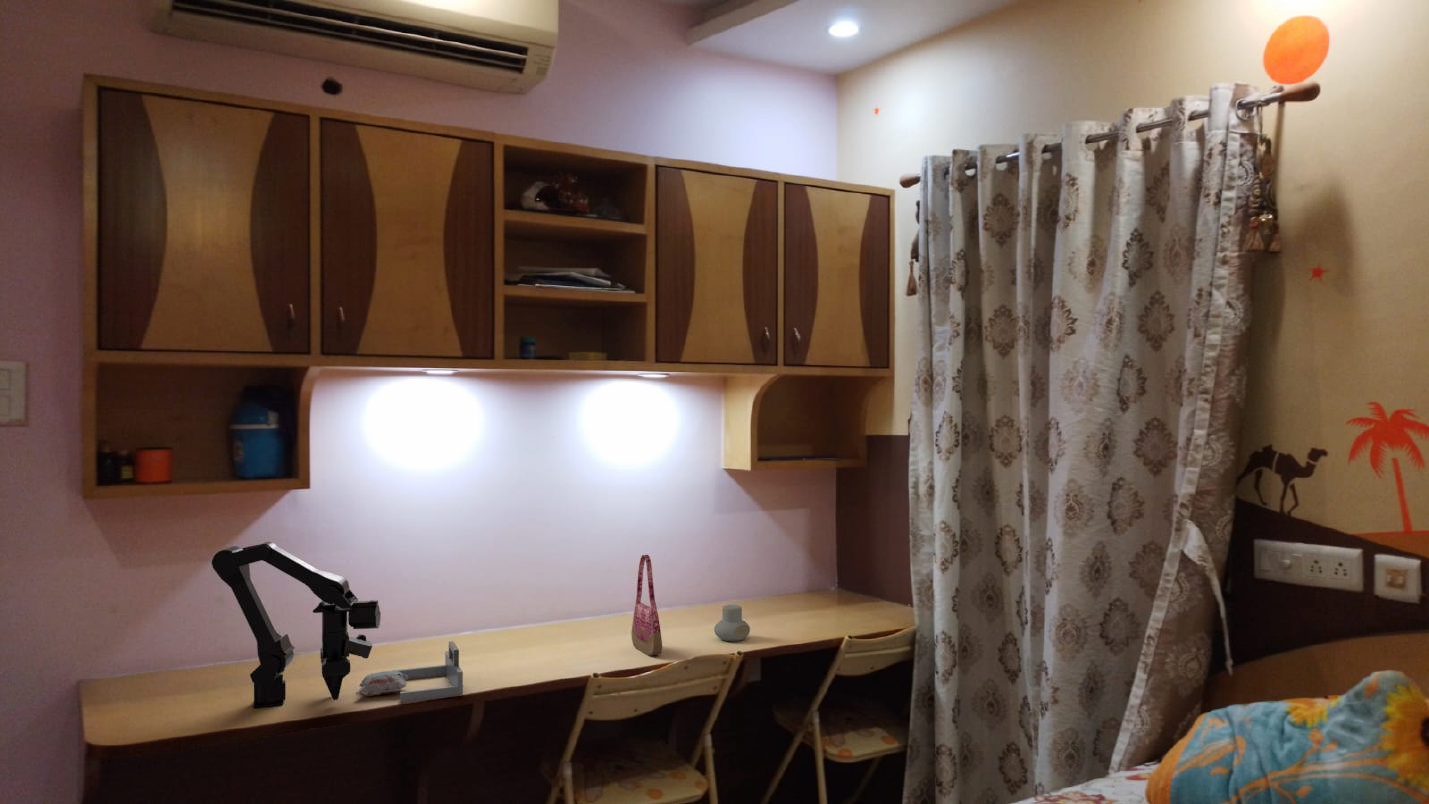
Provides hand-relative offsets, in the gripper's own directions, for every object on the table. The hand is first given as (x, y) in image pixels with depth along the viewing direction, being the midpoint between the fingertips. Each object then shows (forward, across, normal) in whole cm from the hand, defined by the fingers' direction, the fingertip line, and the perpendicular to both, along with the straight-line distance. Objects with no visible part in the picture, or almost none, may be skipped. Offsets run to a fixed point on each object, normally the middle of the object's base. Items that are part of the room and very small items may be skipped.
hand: (334, 694), depth 231 cm
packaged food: (+3, 0, -8) cm, 8 cm away
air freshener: (+2, +16, -113) cm, 114 cm away
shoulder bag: (+2, +13, -85) cm, 86 cm away
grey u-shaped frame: (+2, +2, -21) cm, 21 cm away
